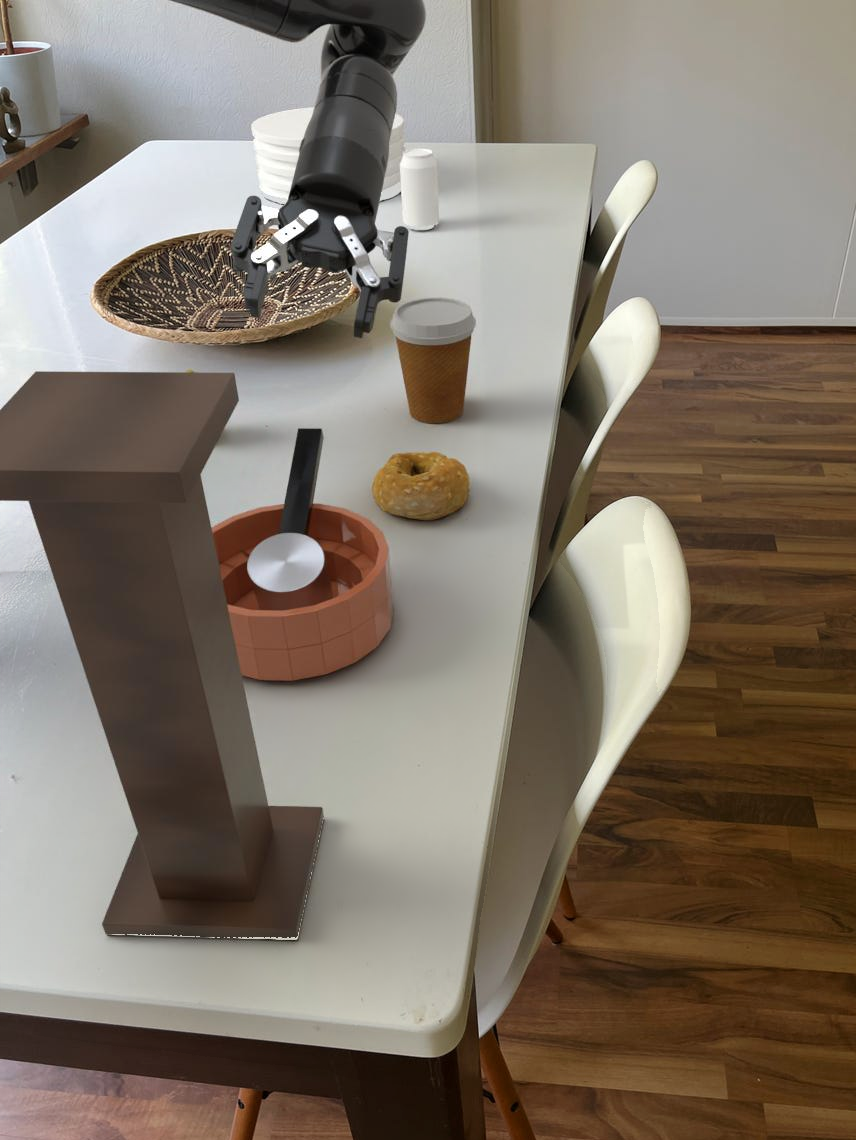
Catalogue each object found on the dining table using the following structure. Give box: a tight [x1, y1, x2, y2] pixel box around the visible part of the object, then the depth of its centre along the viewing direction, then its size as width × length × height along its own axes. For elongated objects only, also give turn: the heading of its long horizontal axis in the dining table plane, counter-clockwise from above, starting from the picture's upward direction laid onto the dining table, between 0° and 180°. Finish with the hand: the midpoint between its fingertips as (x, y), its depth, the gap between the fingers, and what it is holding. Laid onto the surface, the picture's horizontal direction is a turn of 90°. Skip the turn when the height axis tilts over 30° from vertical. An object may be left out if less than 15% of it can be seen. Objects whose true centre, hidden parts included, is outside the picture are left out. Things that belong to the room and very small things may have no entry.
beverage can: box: [400, 148, 440, 227], centre depth 172 cm, size 6×6×12 cm
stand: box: [0, 370, 325, 938], centre depth 57 cm, size 12×10×32 cm
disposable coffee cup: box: [389, 296, 477, 424], centre depth 116 cm, size 10×10×12 cm
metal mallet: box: [247, 427, 333, 611], centre depth 90 cm, size 6×19×5 cm, turn 178°
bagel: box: [371, 451, 471, 521], centre depth 102 cm, size 10×11×5 cm
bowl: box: [211, 502, 395, 682], centre depth 86 cm, size 17×17×7 cm
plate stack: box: [250, 106, 406, 199], centre depth 192 cm, size 28×28×12 cm
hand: (305, 322), depth 83 cm, fingers open, 8 cm apart
